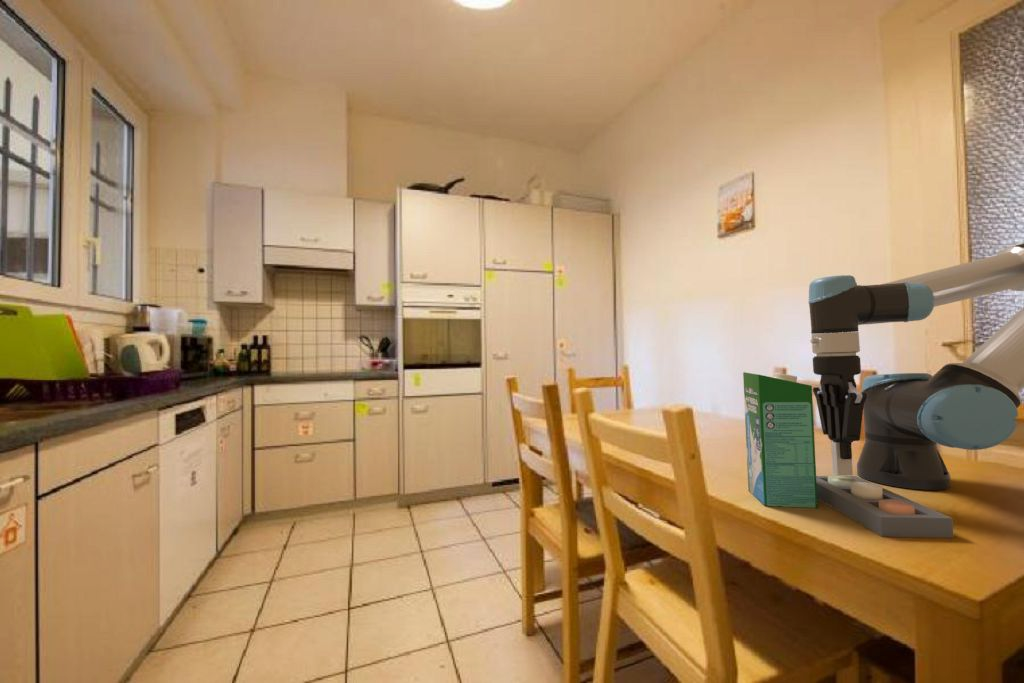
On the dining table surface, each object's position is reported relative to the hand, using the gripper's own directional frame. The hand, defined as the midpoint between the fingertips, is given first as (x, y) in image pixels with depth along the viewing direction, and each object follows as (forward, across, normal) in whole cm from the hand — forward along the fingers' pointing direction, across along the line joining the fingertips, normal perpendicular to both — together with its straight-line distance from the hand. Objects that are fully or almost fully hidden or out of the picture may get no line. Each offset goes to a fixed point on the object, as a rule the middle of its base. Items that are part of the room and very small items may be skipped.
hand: (842, 474), depth 84 cm
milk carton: (+5, +1, -12) cm, 13 cm away
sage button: (+4, 0, 0) cm, 4 cm away
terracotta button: (+4, +14, 0) cm, 15 cm away
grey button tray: (+5, +7, 0) cm, 8 cm away
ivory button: (+3, +7, 0) cm, 8 cm away
